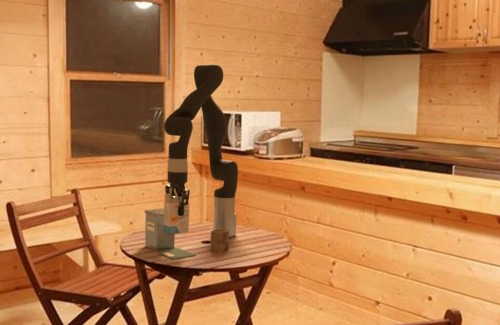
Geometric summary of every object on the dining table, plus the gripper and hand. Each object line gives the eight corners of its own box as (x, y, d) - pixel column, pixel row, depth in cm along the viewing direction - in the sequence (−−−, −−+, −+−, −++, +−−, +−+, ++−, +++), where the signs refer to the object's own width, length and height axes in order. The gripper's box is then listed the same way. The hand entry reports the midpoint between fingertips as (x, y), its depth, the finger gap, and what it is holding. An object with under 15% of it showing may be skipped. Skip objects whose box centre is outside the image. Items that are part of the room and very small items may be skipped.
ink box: (168, 234, 217) (169, 195, 215) (163, 231, 221) (163, 193, 219) (189, 232, 221) (190, 194, 220) (183, 229, 226) (184, 192, 224)
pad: (178, 248, 230) (178, 247, 230) (195, 255, 221) (195, 254, 221) (156, 252, 223) (156, 251, 223) (173, 259, 214) (173, 258, 214)
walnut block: (218, 248, 233) (219, 229, 232) (228, 250, 230) (228, 231, 229) (210, 251, 228) (211, 231, 228) (220, 253, 226) (221, 233, 225)
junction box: (163, 243, 238) (163, 208, 236) (175, 248, 230) (176, 212, 229) (144, 246, 232) (144, 210, 231) (156, 251, 225) (157, 214, 223)
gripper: (196, 171, 216) (195, 216, 217) (175, 167, 227) (175, 210, 228) (179, 172, 211) (178, 218, 213) (159, 168, 222) (158, 212, 224)
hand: (176, 214), depth 220 cm, fingers closed on ink box, 5 cm apart
